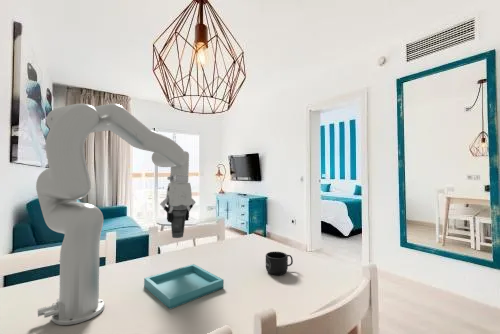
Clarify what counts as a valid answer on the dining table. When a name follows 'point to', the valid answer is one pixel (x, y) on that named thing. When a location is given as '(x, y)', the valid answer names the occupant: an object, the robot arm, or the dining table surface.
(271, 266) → the mug
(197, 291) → the tray
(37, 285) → the dining table surface
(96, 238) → the robot arm
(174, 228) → the beverage cup
